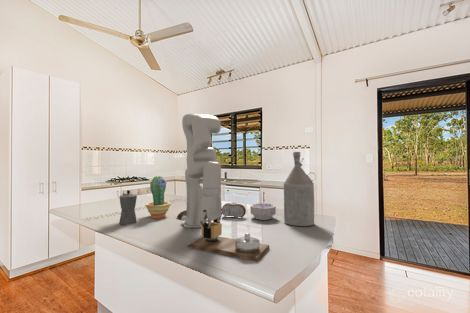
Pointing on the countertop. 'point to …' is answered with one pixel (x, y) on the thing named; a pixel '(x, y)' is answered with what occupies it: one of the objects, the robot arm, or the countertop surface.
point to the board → (227, 248)
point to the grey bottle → (298, 196)
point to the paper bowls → (263, 211)
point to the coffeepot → (128, 209)
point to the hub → (247, 244)
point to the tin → (233, 210)
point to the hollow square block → (214, 229)
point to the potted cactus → (158, 198)
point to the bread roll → (182, 214)
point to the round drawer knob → (212, 239)
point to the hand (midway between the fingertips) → (211, 235)
